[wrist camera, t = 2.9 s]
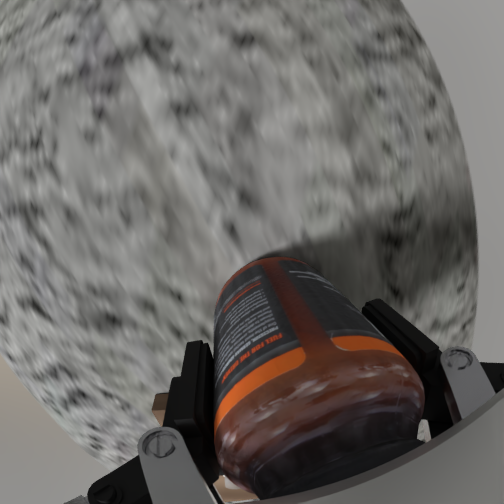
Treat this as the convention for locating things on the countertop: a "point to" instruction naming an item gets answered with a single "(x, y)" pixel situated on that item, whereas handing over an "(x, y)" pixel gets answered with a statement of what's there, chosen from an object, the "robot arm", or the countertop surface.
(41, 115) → the countertop surface
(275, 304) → the supplement bottle
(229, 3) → the countertop surface
